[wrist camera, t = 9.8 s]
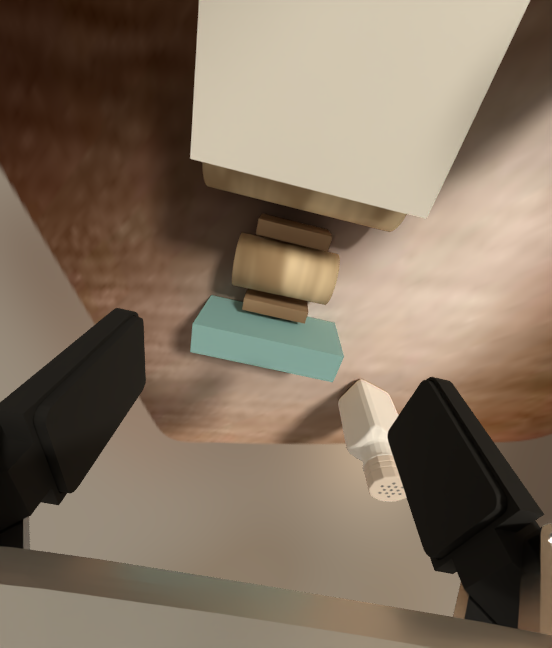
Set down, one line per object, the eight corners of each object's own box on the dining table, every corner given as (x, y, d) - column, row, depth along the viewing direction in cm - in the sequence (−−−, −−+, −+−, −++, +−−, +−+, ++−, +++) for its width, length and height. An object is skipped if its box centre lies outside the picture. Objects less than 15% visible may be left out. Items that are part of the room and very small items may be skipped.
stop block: (211, 294, 23) (192, 323, 19) (334, 322, 24) (343, 356, 20) (208, 319, 25) (190, 352, 20) (325, 345, 25) (332, 382, 21)
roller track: (251, -156, 12) (235, -284, 9) (498, -74, 13) (572, -162, 10) (206, 287, 23) (190, 308, 20) (342, 318, 24) (350, 343, 20)
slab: (247, -250, 9) (224, -461, 6) (549, -143, 10) (664, -284, 7) (211, 161, 15) (190, 158, 12) (400, 209, 16) (426, 219, 13)
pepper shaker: (334, 399, 29) (351, 493, 20) (359, 374, 27) (389, 466, 18) (365, 414, 29) (393, 510, 21) (390, 391, 28) (432, 486, 19)
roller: (238, 278, 22) (229, 291, 19) (245, 230, 21) (237, 235, 17) (320, 296, 23) (327, 312, 19) (333, 250, 21) (343, 258, 18)
